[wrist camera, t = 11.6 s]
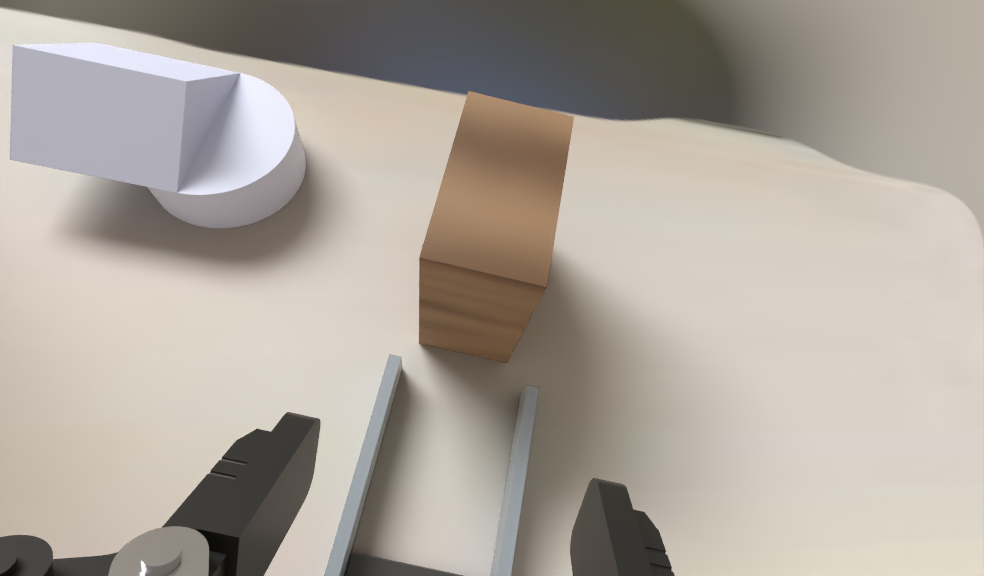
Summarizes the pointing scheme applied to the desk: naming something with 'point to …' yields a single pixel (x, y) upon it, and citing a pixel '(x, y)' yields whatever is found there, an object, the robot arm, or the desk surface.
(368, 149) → the desk surface
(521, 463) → the grey open-top box
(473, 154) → the walnut block
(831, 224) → the desk surface
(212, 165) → the wedge on round base
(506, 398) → the desk surface
